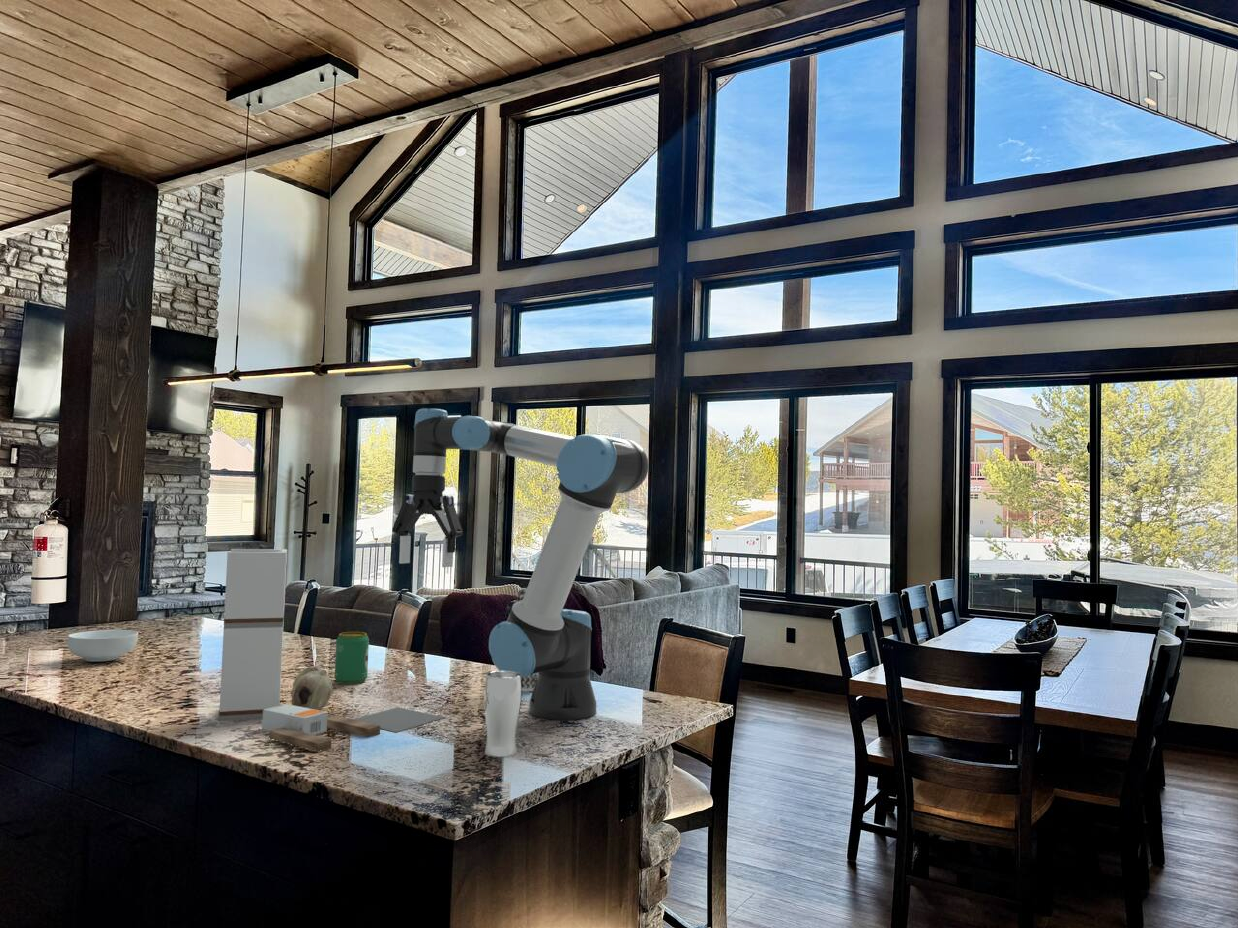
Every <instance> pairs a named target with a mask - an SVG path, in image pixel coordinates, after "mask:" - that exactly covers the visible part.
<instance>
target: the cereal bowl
mask: <svg viewBox="0 0 1238 928" xmlns="http://www.w3.org/2000/svg"><path fill="white" fill-rule="evenodd" d="M138 639H139V632H138V631H137V630H136V631H135V630H130V629H128V630H127V629H104V630H103V629H102V630H101V629H100V630H99V629H98V630H88V631H80V632H73V633H70V634H67V639H66V640H67V641H66V642H67V643H66V645H67V648H68V651H69V652H70V653H71V654H72V655H74V656H76V657H79V658H82V659H84V661H86V662H108V661H110V662H111V661H114V660H117V659H119V658H120V657H121V656H124V655H126V654H128V653H129V652H132V650H134V649H135V647H136V645H137V643H138Z"/></svg>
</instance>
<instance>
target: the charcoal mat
mask: <svg viewBox="0 0 1238 928" xmlns="http://www.w3.org/2000/svg"><path fill="white" fill-rule="evenodd" d="M443 718H445V719H446V717H445V716H439V715H435V714H432V713H431V714H430V713H426V712H421V711H418V710H417V711H416V710H413V709H408V708H403V707H398V706H397V707H395V708H394V707H393V708H390V709H387V710H383V711H380V712H379V711H378V712H376V713H375V712H374V713H372V714H369V715H365V716H362V717H357V718H353V719H354V720H358V721H362V722H367V723H371V724H375V725H380V731H381V730H382V731H387V732H390V733H396V734H398V733H400V732H404V731H407V730H412V729H414V728H417V727H421V726H424V724H425V725H427V723H428V724H431V723H434V722H433V721H435V722H437V720H438V721H441V720H440V719H442V720H444V719H443Z"/></svg>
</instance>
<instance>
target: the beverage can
mask: <svg viewBox="0 0 1238 928" xmlns="http://www.w3.org/2000/svg"><path fill="white" fill-rule="evenodd" d="M335 640H336V641H335V642H336V643H335V659H334V660H335V663H334V679H335V681H336V683H337V684H341V685H357V684H362V683H365V682H366V679H367V678H368V674H369V673H368V671H369V669H368V667H369V666H368V665H369V647H370V645H369V644H370V638H369V636H368V634H367V632H364V631H346V632H344V631H343V632H341V633H339V634H338V636H337V638H336V639H335Z"/></svg>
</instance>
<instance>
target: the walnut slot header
mask: <svg viewBox="0 0 1238 928" xmlns="http://www.w3.org/2000/svg"><path fill="white" fill-rule="evenodd" d="M354 719H355V718H349V717H345V716H340V715H336V714H329V715H327V729H329V730H330V729H331V730H336V731H339V732H343V733H347V734H352V735H357V736H360V737H365V738H371V737H374V736H377V735H378V736H379V735H380V734H381V729H380V725H375V724H371V723H367V722H362V721H358V720H354ZM269 738H270V739H274V740H278V741H282V742H285V743H289V744H292V745H297V746H300V747H303V748H302V749H304V748H308V749H311V750H310V751H312V750H316V751H320V750H323V751H325V750H324V749H327V748H330V747H331V748H332V739H330V738H326V737H322V736H318V735H311V734H307V733H303V732H299V731H295V730H291V729H287V728H283V727H282V728H278V729H274V730H270V731H268V739H269ZM292 745H291V746H292ZM300 747H299V748H300ZM331 748H330V749H331ZM308 749H307V750H308ZM327 750H328V749H327ZM320 752H321V751H320Z"/></svg>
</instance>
